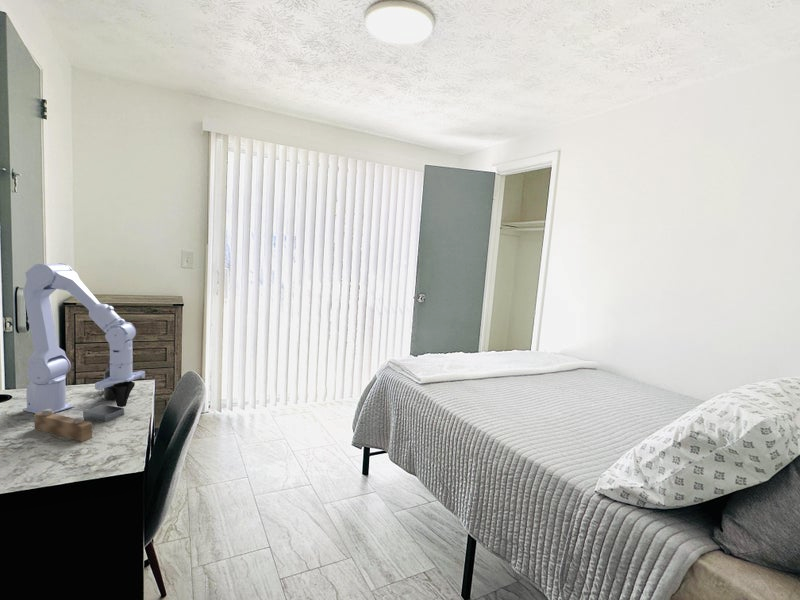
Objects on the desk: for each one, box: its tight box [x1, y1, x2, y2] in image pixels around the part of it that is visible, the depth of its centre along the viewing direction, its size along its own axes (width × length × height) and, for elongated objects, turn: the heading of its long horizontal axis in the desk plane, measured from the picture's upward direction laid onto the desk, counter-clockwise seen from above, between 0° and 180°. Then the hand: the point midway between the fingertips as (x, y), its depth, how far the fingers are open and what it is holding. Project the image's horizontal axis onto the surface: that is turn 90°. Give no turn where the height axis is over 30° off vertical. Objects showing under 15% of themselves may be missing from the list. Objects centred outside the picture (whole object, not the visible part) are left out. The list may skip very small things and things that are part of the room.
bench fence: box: [33, 409, 93, 442], centre depth 108 cm, size 18×2×5 cm, turn 72°
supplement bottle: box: [103, 361, 115, 401], centre depth 135 cm, size 7×7×12 cm
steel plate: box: [82, 404, 125, 423], centre depth 120 cm, size 8×6×2 cm
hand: (121, 406), depth 125 cm, fingers closed
